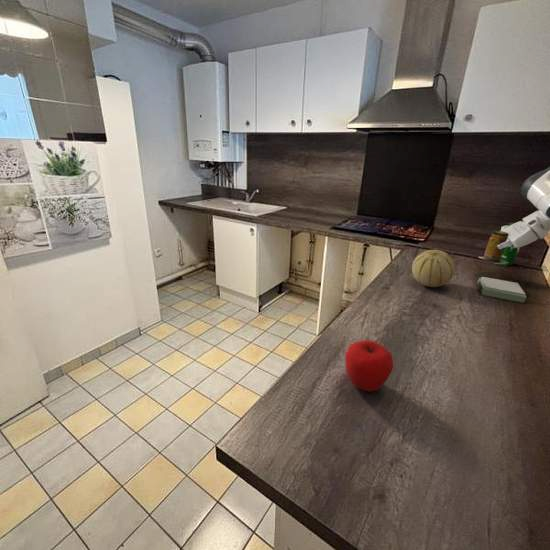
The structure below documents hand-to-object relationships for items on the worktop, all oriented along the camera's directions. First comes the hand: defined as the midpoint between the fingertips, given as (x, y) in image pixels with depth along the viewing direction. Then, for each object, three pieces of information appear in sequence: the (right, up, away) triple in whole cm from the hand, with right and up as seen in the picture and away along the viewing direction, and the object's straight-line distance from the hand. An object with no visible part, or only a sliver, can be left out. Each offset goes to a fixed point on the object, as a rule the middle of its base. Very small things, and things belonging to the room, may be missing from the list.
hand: (496, 245), depth 122 cm
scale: (-6, -19, -9) cm, 22 cm away
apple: (-73, -37, -56) cm, 99 cm away
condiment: (0, -6, +2) cm, 7 cm away
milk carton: (+20, -7, +23) cm, 31 cm away
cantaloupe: (-31, -17, -5) cm, 36 cm away
